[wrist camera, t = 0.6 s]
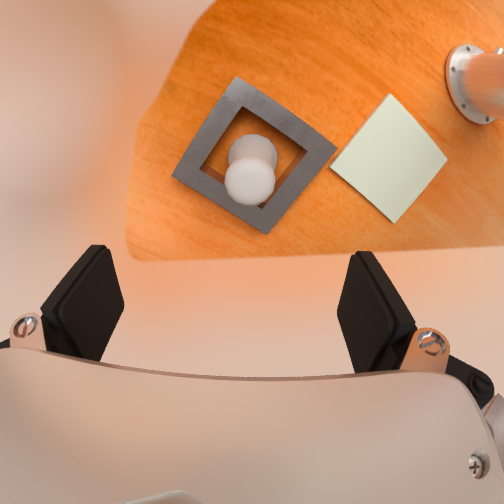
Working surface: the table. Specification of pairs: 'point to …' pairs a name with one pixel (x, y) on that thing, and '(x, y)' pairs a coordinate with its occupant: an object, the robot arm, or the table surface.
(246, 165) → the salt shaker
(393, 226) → the table surface
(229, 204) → the grey square frame
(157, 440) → the robot arm
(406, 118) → the mat
